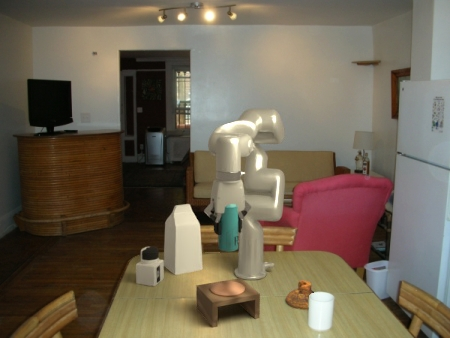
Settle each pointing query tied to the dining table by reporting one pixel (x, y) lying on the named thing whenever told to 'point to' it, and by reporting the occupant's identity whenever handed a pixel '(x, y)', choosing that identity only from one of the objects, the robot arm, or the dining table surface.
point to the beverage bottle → (229, 229)
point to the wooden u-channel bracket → (226, 298)
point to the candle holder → (300, 295)
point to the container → (149, 267)
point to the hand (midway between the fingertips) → (227, 232)
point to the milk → (182, 241)
